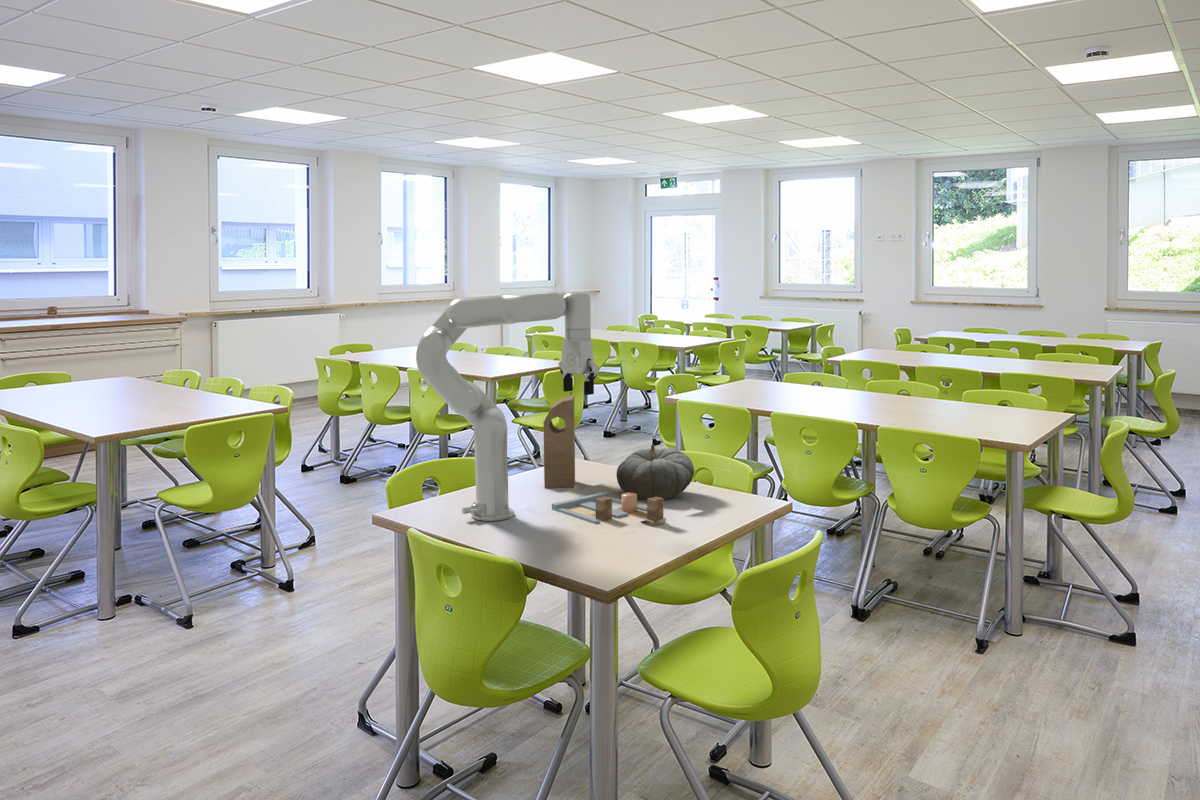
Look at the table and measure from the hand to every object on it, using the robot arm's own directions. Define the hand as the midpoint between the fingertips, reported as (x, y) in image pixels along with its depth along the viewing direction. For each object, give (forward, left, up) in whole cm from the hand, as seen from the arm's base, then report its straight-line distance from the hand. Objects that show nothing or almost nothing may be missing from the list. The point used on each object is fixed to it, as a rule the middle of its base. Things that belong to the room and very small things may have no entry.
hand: (578, 392), depth 251 cm
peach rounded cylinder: (+9, -13, -35) cm, 38 cm away
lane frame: (+3, -6, -36) cm, 37 cm away
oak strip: (+8, -17, -36) cm, 41 cm away
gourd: (+29, -3, -37) cm, 47 cm away
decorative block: (+16, +30, -36) cm, 50 cm away
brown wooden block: (-2, -12, -36) cm, 38 cm away
